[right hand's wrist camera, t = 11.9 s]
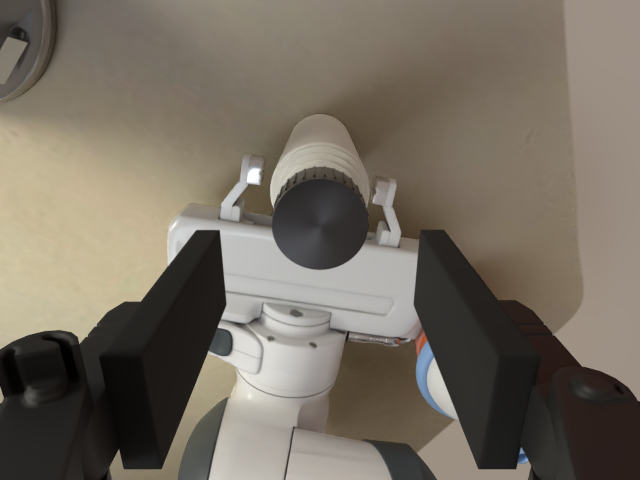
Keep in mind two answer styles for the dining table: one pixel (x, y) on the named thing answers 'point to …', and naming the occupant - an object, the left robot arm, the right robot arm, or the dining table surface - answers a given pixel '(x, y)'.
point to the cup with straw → (436, 383)
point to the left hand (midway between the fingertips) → (320, 167)
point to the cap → (319, 218)
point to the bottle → (319, 153)
